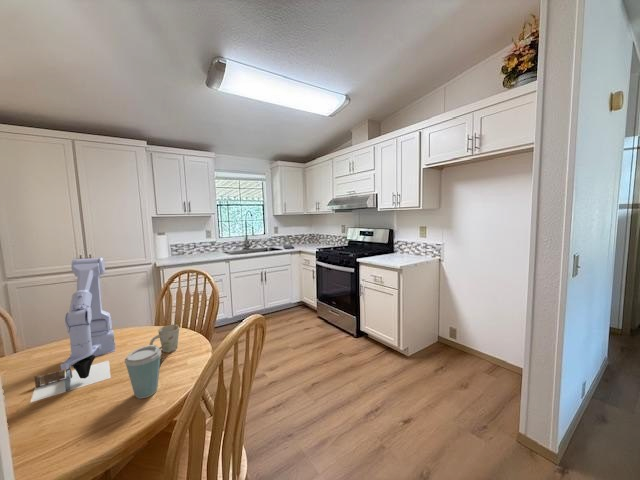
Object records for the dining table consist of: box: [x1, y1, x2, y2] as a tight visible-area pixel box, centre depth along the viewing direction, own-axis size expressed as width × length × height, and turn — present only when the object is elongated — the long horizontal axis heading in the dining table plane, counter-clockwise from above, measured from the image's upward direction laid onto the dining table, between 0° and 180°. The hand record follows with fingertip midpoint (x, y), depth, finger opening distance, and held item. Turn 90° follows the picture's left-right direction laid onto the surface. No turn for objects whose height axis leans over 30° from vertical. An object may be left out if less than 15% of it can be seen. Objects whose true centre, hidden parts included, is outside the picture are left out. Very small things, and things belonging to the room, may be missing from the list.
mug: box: [149, 324, 180, 353], centre depth 122 cm, size 8×13×10 cm, turn 148°
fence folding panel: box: [65, 370, 71, 390], centre depth 98 cm, size 9×1×4 cm, turn 41°
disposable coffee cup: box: [124, 344, 162, 399], centre depth 93 cm, size 11×11×15 cm
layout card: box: [30, 360, 112, 404], centre depth 102 cm, size 21×16×1 cm
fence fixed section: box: [34, 366, 72, 388], centre depth 99 cm, size 10×2×4 cm, turn 130°
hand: (84, 377), depth 100 cm, fingers closed
